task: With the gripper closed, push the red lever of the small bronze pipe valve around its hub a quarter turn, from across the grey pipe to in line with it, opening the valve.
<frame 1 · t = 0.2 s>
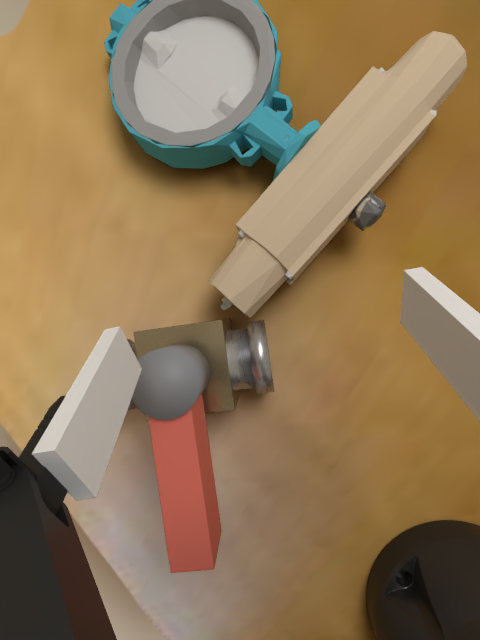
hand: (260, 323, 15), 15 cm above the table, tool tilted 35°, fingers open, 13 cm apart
lever: (182, 449, 22), point 9 cm above the table, hinge at 0.0°
valve body: (199, 359, 31), on the table
butterfly valve: (240, 132, 31), on the table
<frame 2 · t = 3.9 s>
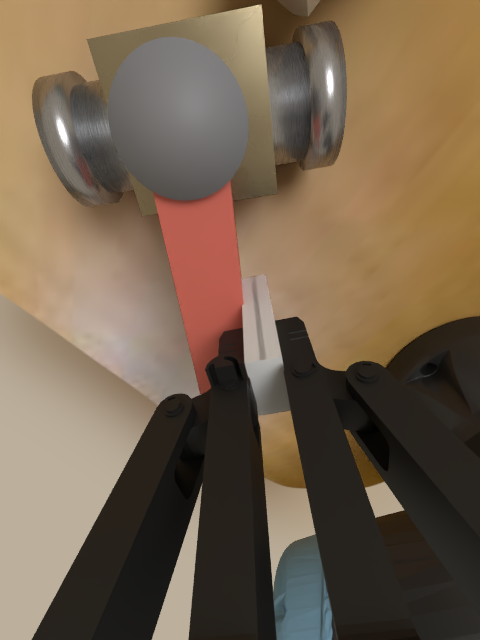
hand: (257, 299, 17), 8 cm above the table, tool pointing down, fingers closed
lever: (207, 252, 14), point 9 cm above the table, hinge at 2.9°, touching gripper
valve body: (202, 123, 19), on the table
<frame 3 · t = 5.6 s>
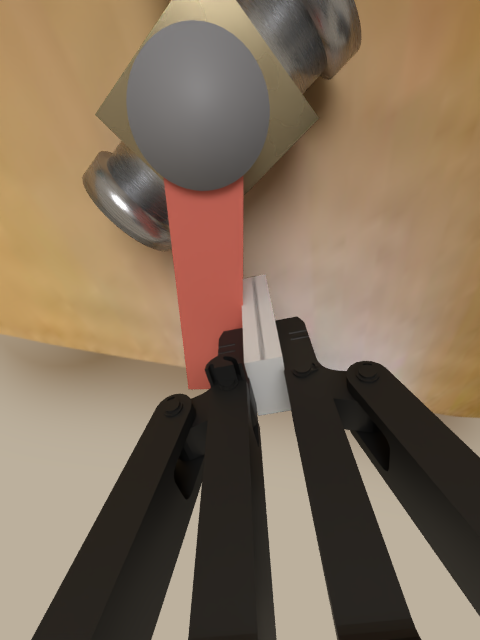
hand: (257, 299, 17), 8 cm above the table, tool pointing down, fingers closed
lever: (210, 246, 14), point 9 cm above the table, hinge at 44.2°, touching gripper
valve body: (214, 117, 19), on the table
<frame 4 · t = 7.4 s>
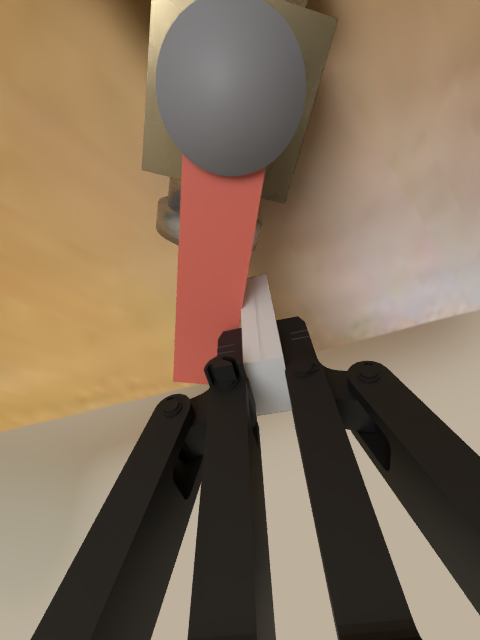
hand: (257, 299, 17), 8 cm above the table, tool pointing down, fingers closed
lever: (216, 236, 14), point 9 cm above the table, hinge at 85.3°, touching gripper
valve body: (229, 105, 19), on the table
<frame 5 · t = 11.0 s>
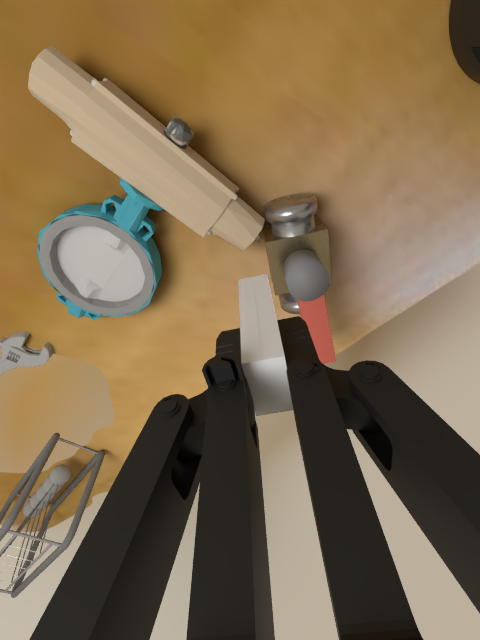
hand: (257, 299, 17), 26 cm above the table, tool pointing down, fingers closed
lever: (312, 311, 38), point 9 cm above the table, hinge at 85.4°
newton's cradle: (56, 471, 70), on the table
valve body: (292, 246, 43), on the table
butterfly valve: (126, 227, 42), on the table
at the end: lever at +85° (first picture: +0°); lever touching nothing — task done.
